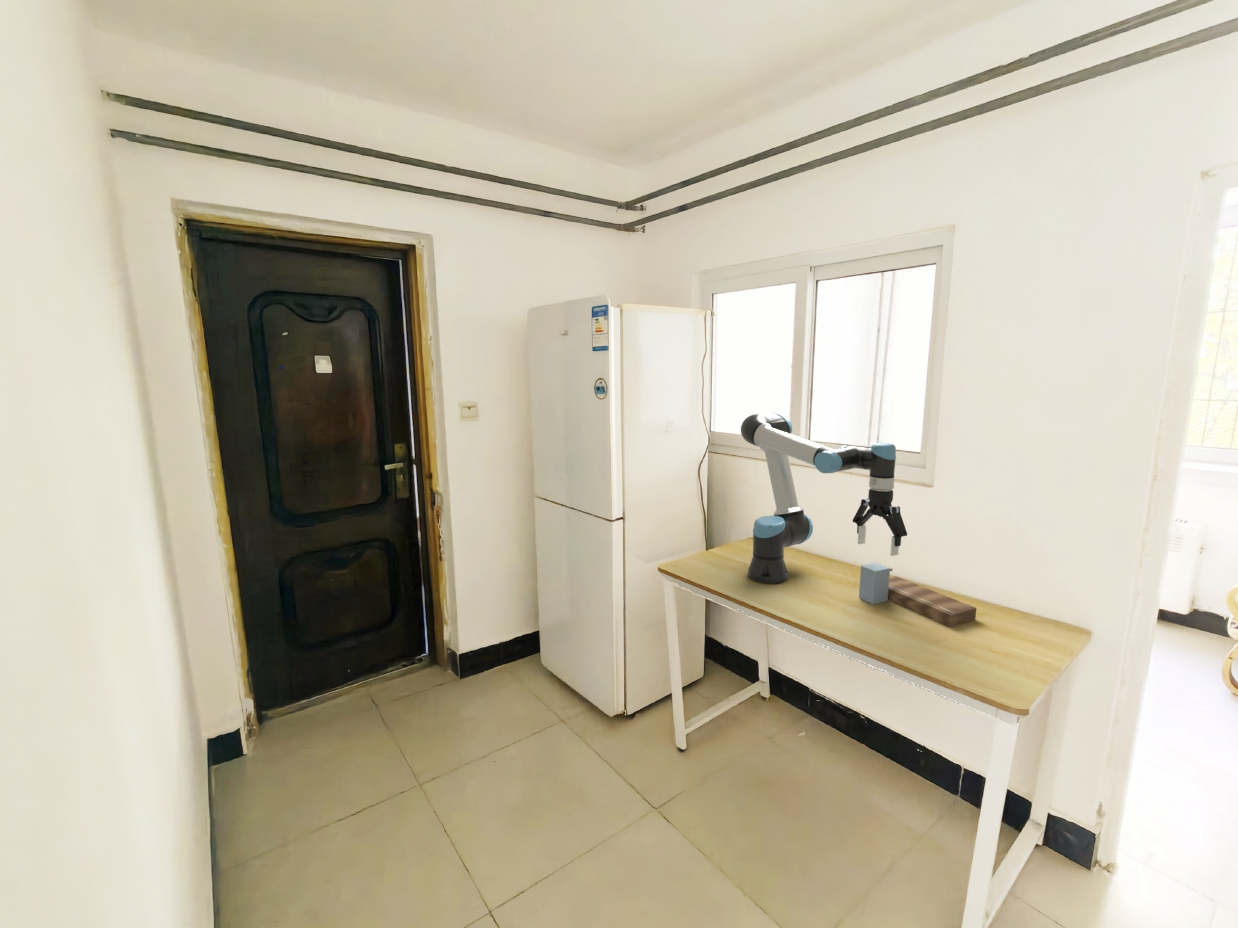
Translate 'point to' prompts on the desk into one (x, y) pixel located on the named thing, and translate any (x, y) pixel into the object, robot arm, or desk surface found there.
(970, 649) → the desk surface
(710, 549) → the desk surface
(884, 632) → the desk surface
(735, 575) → the desk surface
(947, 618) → the plank
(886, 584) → the pale blue block
